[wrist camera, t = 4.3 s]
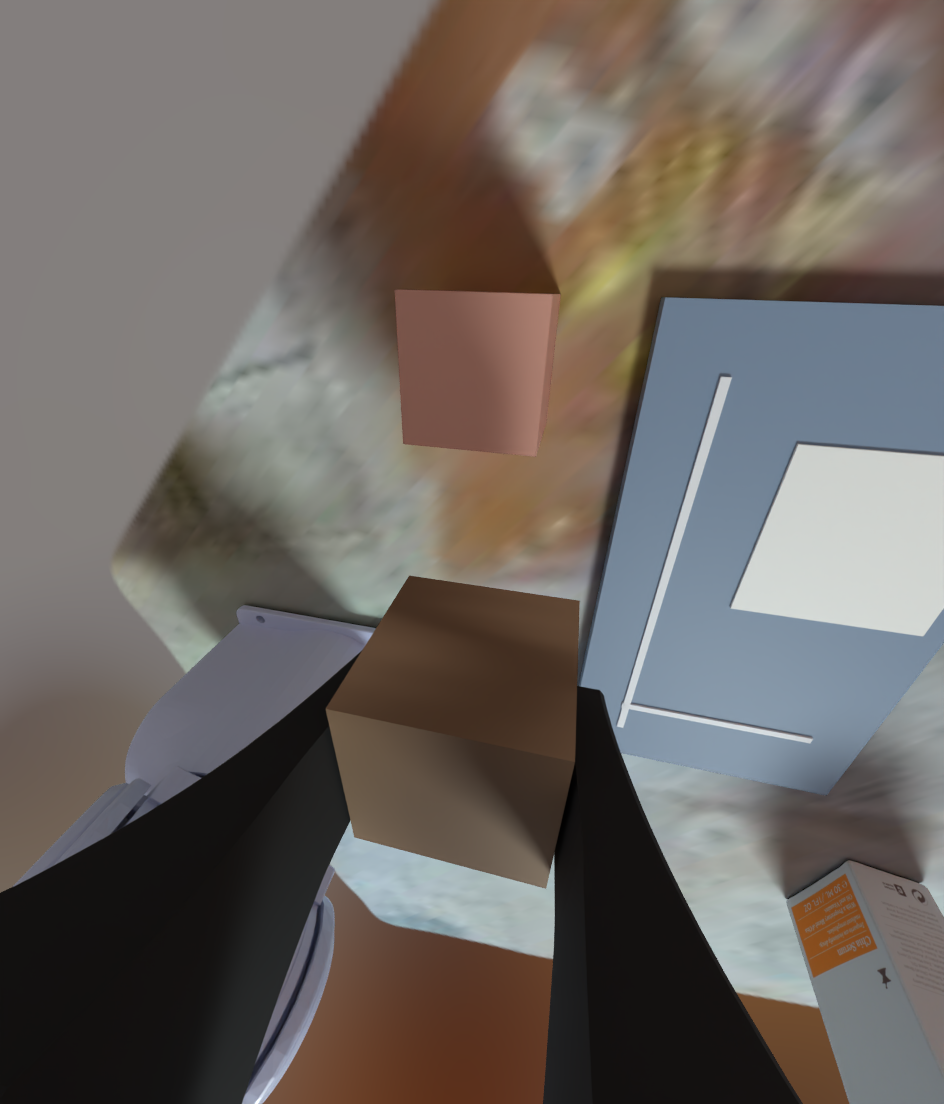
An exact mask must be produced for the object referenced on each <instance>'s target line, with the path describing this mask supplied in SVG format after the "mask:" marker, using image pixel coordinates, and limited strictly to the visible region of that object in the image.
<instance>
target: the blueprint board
mask: <svg viewBox="0 0 944 1104" xmlns="http://www.w3.org/2000/svg"><path fill="white" fill-rule="evenodd" d="M943 643H944V306H932V305H899V304H867V303H834V302H801V301H769V300H736V299H704V298H671V297H661V301H660V306H659V311H658V315H657V320H656V325H655V329H654V334H653V339H652V343H651V348H650V353H649V357H648V362H647V367H646V371H645V376H644V381H643V385H642V390H641V395H640V399H639V404H638V409H637V413H636V418H635V423H634V427H633V432H632V437H631V442H630V446H629V451H628V456H627V460H626V465H625V470H624V474H623V479H622V484H621V488H620V493H619V498H618V502H617V507H616V512H615V516H614V521H613V526H612V530H611V535H610V540H609V544H608V549H607V554H606V558H605V563H604V568H603V573H602V577H601V582H600V587H599V591H598V596H597V601H596V605H595V610H594V615H593V619H592V624H591V629H590V633H589V638H588V643H587V647H586V652H585V657H584V661H583V666H582V671H581V675H580V680H579V685H578V686H581V687H586V688H592V689H597V690H600V691H601V692H602V693H603V695H604V698H605V703H606V707H607V710H608V714H609V718H610V721H611V725H612V728H613V731H614V734H615V737H616V740H617V743H618V746H619V749H620V752H621V753H623V754H628V755H633V756H638V757H643V758H648V759H652V760H657V761H662V762H667V763H672V764H676V765H681V766H686V767H691V768H696V769H701V770H705V771H710V772H715V773H720V774H725V775H729V776H734V777H739V778H744V779H749V780H753V781H758V782H763V783H768V784H773V785H778V786H782V787H787V788H792V789H797V790H802V791H806V792H811V793H816V794H821V795H826V796H827V794H828V793H829V792H830V790H831V789H832V788H833V786H834V785H835V784H836V783H837V781H838V780H839V779H840V777H841V776H842V775H843V773H844V772H845V771H846V770H847V768H848V767H849V766H850V764H851V763H852V762H853V760H854V759H855V758H856V756H857V755H858V754H859V753H860V751H861V750H862V749H863V747H864V746H865V745H866V743H867V742H868V741H869V740H870V738H871V737H872V736H873V734H874V733H875V732H876V730H877V729H878V728H879V727H880V725H881V724H882V723H883V721H884V720H885V719H886V717H887V716H888V715H889V714H890V712H891V711H892V710H893V708H894V707H895V706H896V704H897V703H898V702H899V701H900V699H901V698H902V697H903V695H904V694H905V693H906V691H907V690H908V689H909V688H910V686H911V685H912V684H913V682H914V681H915V680H916V678H917V677H918V676H919V675H920V673H921V672H922V671H923V669H924V668H925V667H926V665H927V664H928V663H929V662H930V660H931V659H932V658H933V656H934V655H935V654H936V652H937V651H938V650H939V649H940V647H941V646H942V645H943Z"/></svg>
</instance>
